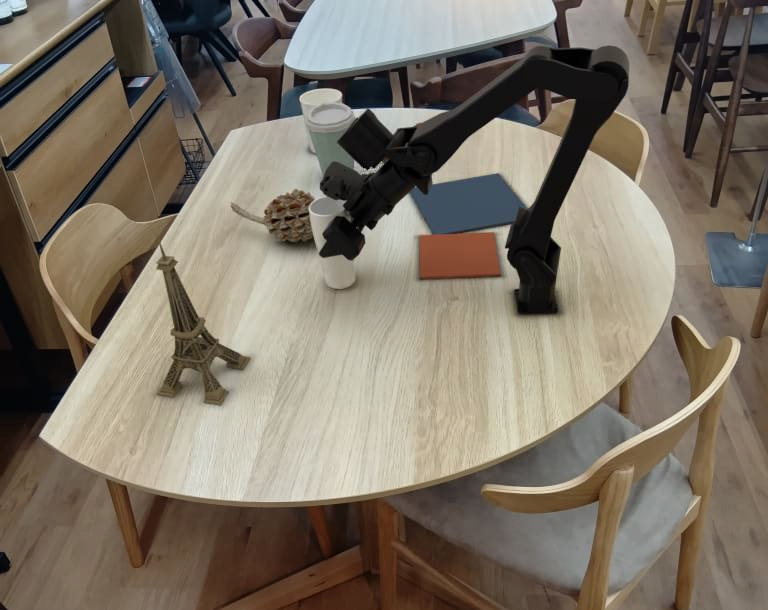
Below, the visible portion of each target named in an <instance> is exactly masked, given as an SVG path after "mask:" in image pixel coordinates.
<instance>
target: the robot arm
mask: <svg viewBox="0 0 768 610" xmlns="http://www.w3.org/2000/svg"><path fill="white" fill-rule="evenodd" d="M629 81H630V60H629V57H628V55H627V54H626V53H625V51H624V50H623V49H621V48H620V47H618V46H616V45H609V44H607V45H603V46H600V47H597V48H596V49H595V48H587V47H579V46H578V47H551V46H544V45H537V46H534V47H532V48H531V49H529V50H528V51H527V52H526V54H525V55H524V56H523V57H522V58H520V59H519V60H517V62H516V63H514V64H512V65H511V66H510V67H508V68H507V69H506V70H504V71H503V72H502V73H501V74H499V75H498V76H497V77H496V78H494V79H493V80H491V81H490V82H489V83H487V84H486V85H485V86H483V87H482V88H481V89H479V90H478V91H477V92H476V93H475V94H473V95H472V96H470V97H469V98H468V99H466V100H465V101H464V102H462V103H461V104H460V105H458V106H457V107H455V108H453V109H450V110H447V111H444V112H441V113H438V114H436V115H434V116H432V117H430V118H429V119H426V120H424V121H423V122H420V123H421V124H420V125H419V126H416V127H413V126H405V127H398V128H396V130H395V131H394V133H392V132H391V131H390V130H389V129H388V128H387V127H386V126H385V124H383V123H382V122H381V121H380V120H379V118H378V117H377V116H376V114H375V112H373V111H372V110H371V109H370V108H366V109H365V110H364V111H363V113H361V114H360V115H359V116H358V117H357V116H356V117H355V120H354V121H353V122H352V123H351V124H350V126H349V127H348V128H347V129H346V130H345V132H344V133H343V134H342V135H341V136H340V138H339V139H338V140H337V142H336V143H337V144H339V145H340V146H341V147H342V148H343V149H344V150H345V151H346V152H347V153H348V154H349V155H350V156H351V157H352V158H353V159H354V162H356V163H357V164H358V165H359V166H360V167H361V168H362V169H365V170H366V171H369V170H371V168H372V169H373V170H374V169H375V168H377V167H378V166H379V165H380V164H381V163H382V160H383V159H384V158H385V157H387V158H388V160H387V161H386V162H385V163H382V165H381V166H380V167H379V168H378V169H377V170H376V171H373V172H369V173H362V174H360V172H358V171H357V170H355V169H354V170H353V169H351V168H349V167H347V166H345V165H343V164H341V163H339V162H335V161H334V162H332V163H331V164H330V165H329V167H328V168H327V169H326V171H325V173H324V176H323V175H322V179H321V180H320V182H319V191H321V192H322V194H323V195H324V196H328V197H330V198H332V199H334V200H339V199H340V200H342V201H346V202H345V203H344V204H343V207H344V208H345V209H346V210H347V211H348V212H347V213H348V214H349V215H350V216H351V218H352V219H351V221H350V222H349V221H348V220H347V219H346V218H345V217H344V216H335V217H334V218H333V219H332V220H331V221H330V222H329V224H328V225H327V227H326V228H325V230H324V232H323V233H322V235H323V237H324V239H325V240H326V242H325V244H324V246H323V247H322V249H321V250H320V252H319V254H318V256H319V255H320V256H321V257H322V258H327V257H332V256H338V255H343V256H344V257H345V258H346V259H348V260H350V261H352V260H354V261H355V259H356V258H357V257H359V255H360V254H361V252H362V251H363V249H364V246H365V245H366V236H365V234H364V233H363V231H364V229H365V227H366V228H368V229H369V230H370V231H373V230H374V229H375V228H376V227H377V225H378V223H379V221H380V220H381V219H382V218H383V217H384V216H385V215H386V216H387V217H388V216H389V215H390V214H391V213H393V210H394V209H395V207H396V205H398V204H399V203H400V202H401V201H402V200H403V199H404V198H405V197H406V196H408V194H410V191H411V190H412V189H414V188H415V187H417V188H418V189H419V190H420V191H421V192H422V193H423V194H424V195H427V194H428V192H429V190H430V188H431V186H432V185H433V184H434V183H433V174H434V173H436V172H438V171H439V170H440V169H441V168H443V166H444V165H445V164H446V163H447V162H448V161H449V160H450V159H451V158H453V156H454V155H455V154H456V153H457V151H458V150H459V149H460V147H461V146H462V145H463V144H464V143H465V142H466V141H467V140H468V138H470V137H472V135H474V134H475V133H476V132H478V131H480V130H481V129H482V128H484V127H485V126H487V125H488V124H489V123H491V122H492V121H494V120H495V119H496V118H498V117H499V116H501V115H502V114H504V112H506V111H508V110H509V109H510V108H512V107H513V106H514V105H516V104H517V103H518V102H520V101H521V100H523V99H524V98H526V97H527V96H528V95H530V94H531V93H533V92H534V91H536V90H537V89H540V90H545V91H548V92H551V93H553V94H555V95H559V96H561V97H564V98H566V99H570V100H574V104H573V109H572V113H571V117H570V119H569V121H568V123H567V126H566V128H565V130H564V132H563V135H562V137H561V140H560V142H559V144H558V147H557V148H556V150H555V153H554V155H553V158H552V160H551V162H550V164H549V167H548V169H547V171H546V174H545V176H544V178H543V181H542V183H541V185H540V187H539V189H538V192H537V194H536V196H535V199H534V201H533V202H532V204H531V205H530V206H529V207H528V208H527V209H528V210H526V209H524V208H522V207H519V209H518V212H517V216H516V220H515V222H514V223H511V225H510V227H509V229H508V234H507V237H506V241H505V245H504V249H505V250H507V249H508V250H507V253H506V260H507V261H508V263H509V265H510V266H511V267H512V268H513V269H515V270H516V271H515V272H516V273H517V276H518V279H519V284H518V288H514V289H513V294H514V296H513V297H514V300H515V302H514V303H515V306H516V312H517V314H519V315H540V314H541V315H542V314H543V315H544V314H557V313H559V305H558V302H557V299H556V286H557V279H558V278H557V277H558V271H559V265H560V259H561V253H562V247H561V246H560V245H559V243H558V242H557V241H555V240H554V238H553V237H552V232H553V229H554V225H555V222H556V218H557V217H558V215H559V212H560V209H561V208H562V206H563V204H564V201H565V200H566V197H567V195H568V193H569V191H570V189H571V187H572V185H573V182H574V181H575V178H576V176H577V174H578V172H579V170H580V168H581V166H582V164H583V161H584V159H585V157H586V155H587V154H588V151H589V149H590V146H591V145H592V142H593V140H594V138H595V136H596V135H597V133H598V132H599V130H600V129H601V128H602V127H603V126H604V125H605V124H606V123H607V121H608V120H609V119H610V118H611V117H612V116H613V114H614V113H615V111H616V110H617V108H618V107H619V106H620V104H621V102H622V101H623V99H624V98H625V97H626V95H627V93H628V90H629V86H630V85H629V84H630V82H629ZM407 143H408V145H407V146H406V144H407ZM405 146H406V147H405Z"/></svg>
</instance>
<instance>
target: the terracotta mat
mask: <svg viewBox="0 0 768 610" xmlns="http://www.w3.org/2000/svg"><path fill="white" fill-rule="evenodd" d="M489 277H490V278H491V277H501V268H500V263H499V257H498V251H497V243H496V238H495V233H494V231H491V232H462V233H456V234H438V235H433V234H420V235H419V280H428V279H429V280H431V279H459V278H460V279H461V278H462V279H463V278H489Z"/></svg>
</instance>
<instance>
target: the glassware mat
mask: <svg viewBox="0 0 768 610" xmlns="http://www.w3.org/2000/svg"><path fill="white" fill-rule="evenodd" d="M409 194H410V196H411V197H412V200H413V201H414V203H415V204H416V206H417V208H418V210H419V212H420V213H421V216H422V217H423V218H424V220H425V222H426V224H427V226H428V228H429V230H430V231H431V233H432V235H438V234H463V233H468V232H471V231H472V232H473V231H478V230H483V229H488V228H495V227H501V226H504V225H510V224H511V225H512V224H513V223H514V222H515V220H516V216H517V212H518V209H519V207H522V208H524V209H526V210H528V209H529V208H528V207H527V206H526V205H525V204H524V203H523V201H522V200H521V199H520V198H519V196H518V195H517V194H516V193H515V192H514V190H513V189H512V188H511V187H510V185H509V184H508V183H507V182H506V181H505V179H504V178H503V177H502V176H501V175H500V173H499V172H497V173H491V174H486V175H480V176H479V175H478V176H475V177H467V178H463V179H456V180H451V181H444V182H441V183H440V182H439V183H433V184H432V186H431V188H430V190H429V192H428V194H427V195H424V194H423V193H422V192H421V191H420V190H419V189H418V188H417V187H415V188H414V189H412V190H411V191H410V192H409Z"/></svg>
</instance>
